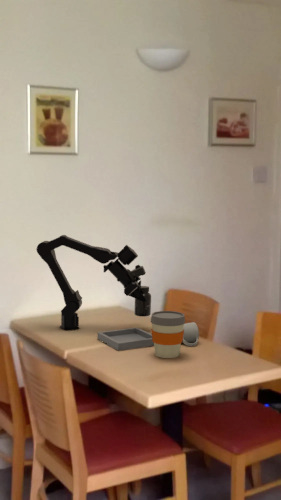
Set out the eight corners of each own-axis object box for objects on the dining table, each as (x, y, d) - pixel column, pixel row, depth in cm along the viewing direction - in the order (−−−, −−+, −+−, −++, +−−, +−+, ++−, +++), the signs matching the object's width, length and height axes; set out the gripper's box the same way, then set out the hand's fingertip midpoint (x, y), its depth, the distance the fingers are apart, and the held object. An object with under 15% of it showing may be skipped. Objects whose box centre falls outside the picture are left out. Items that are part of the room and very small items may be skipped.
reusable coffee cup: (154, 360, 228) (155, 319, 226) (146, 350, 240) (147, 311, 238) (188, 358, 230) (189, 318, 228) (179, 348, 242) (180, 310, 240)
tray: (118, 350, 239) (118, 343, 238) (97, 339, 254) (97, 332, 254) (159, 344, 247) (159, 337, 247) (136, 334, 263) (136, 327, 263)
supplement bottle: (150, 317, 264) (151, 288, 263) (134, 316, 265) (134, 288, 263) (150, 313, 271) (151, 285, 270) (134, 312, 271) (135, 285, 270)
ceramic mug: (172, 340, 254) (173, 321, 253) (191, 338, 257) (191, 320, 256) (183, 348, 245) (184, 328, 243) (202, 346, 247) (203, 326, 246)
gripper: (132, 263, 256) (159, 291, 257) (136, 256, 274) (160, 282, 275) (112, 281, 257) (139, 309, 258) (117, 273, 276) (142, 299, 277)
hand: (146, 299), depth 267 cm, fingers closed on supplement bottle, 7 cm apart
